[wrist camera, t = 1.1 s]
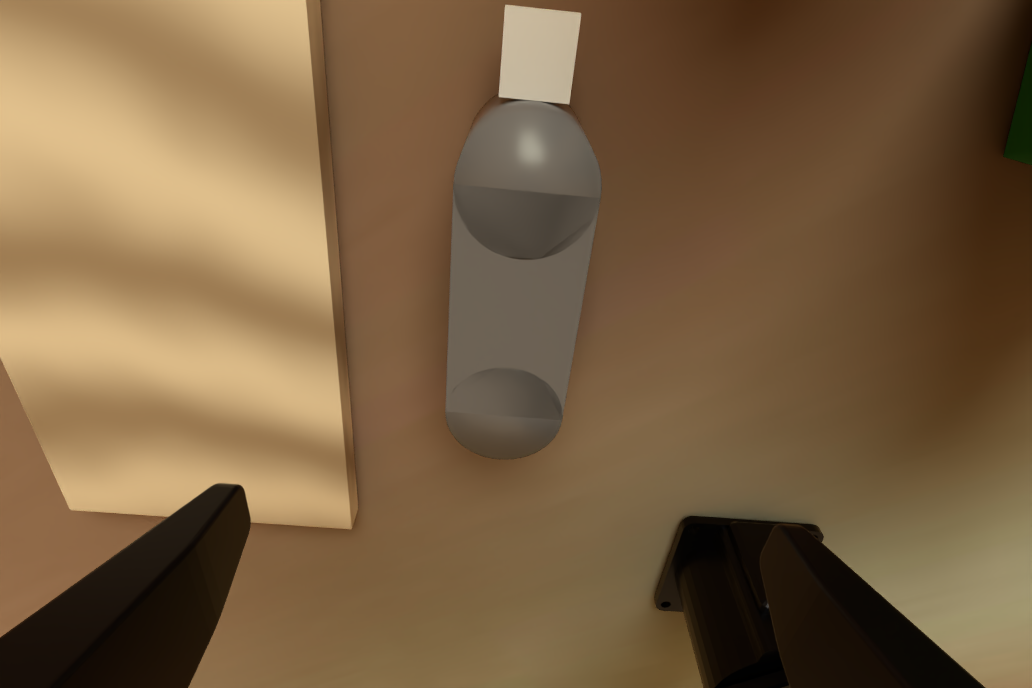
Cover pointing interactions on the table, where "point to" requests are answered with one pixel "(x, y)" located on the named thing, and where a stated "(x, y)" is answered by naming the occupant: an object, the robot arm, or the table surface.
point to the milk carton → (1022, 120)
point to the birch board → (175, 254)
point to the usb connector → (520, 244)
